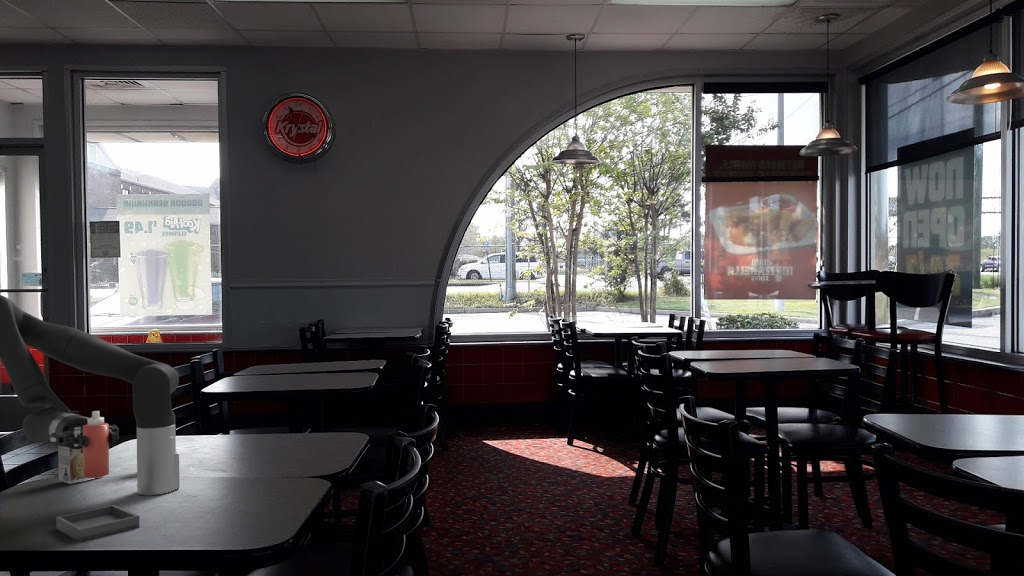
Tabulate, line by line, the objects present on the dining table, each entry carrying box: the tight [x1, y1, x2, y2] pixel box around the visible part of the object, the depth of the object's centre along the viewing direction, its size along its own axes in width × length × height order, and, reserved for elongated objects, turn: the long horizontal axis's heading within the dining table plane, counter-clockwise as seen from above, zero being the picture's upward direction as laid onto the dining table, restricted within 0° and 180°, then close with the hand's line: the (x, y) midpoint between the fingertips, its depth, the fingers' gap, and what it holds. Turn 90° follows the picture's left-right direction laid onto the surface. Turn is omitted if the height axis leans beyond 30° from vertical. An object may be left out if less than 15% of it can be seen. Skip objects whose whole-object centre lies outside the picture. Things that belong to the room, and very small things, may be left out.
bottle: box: [83, 410, 110, 478], centre depth 164 cm, size 5×5×14 cm
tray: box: [55, 504, 140, 543], centre depth 164 cm, size 12×14×2 cm
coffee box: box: [57, 446, 104, 481], centre depth 208 cm, size 9×6×16 cm
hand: (100, 440), depth 162 cm, fingers closed on bottle, 5 cm apart
